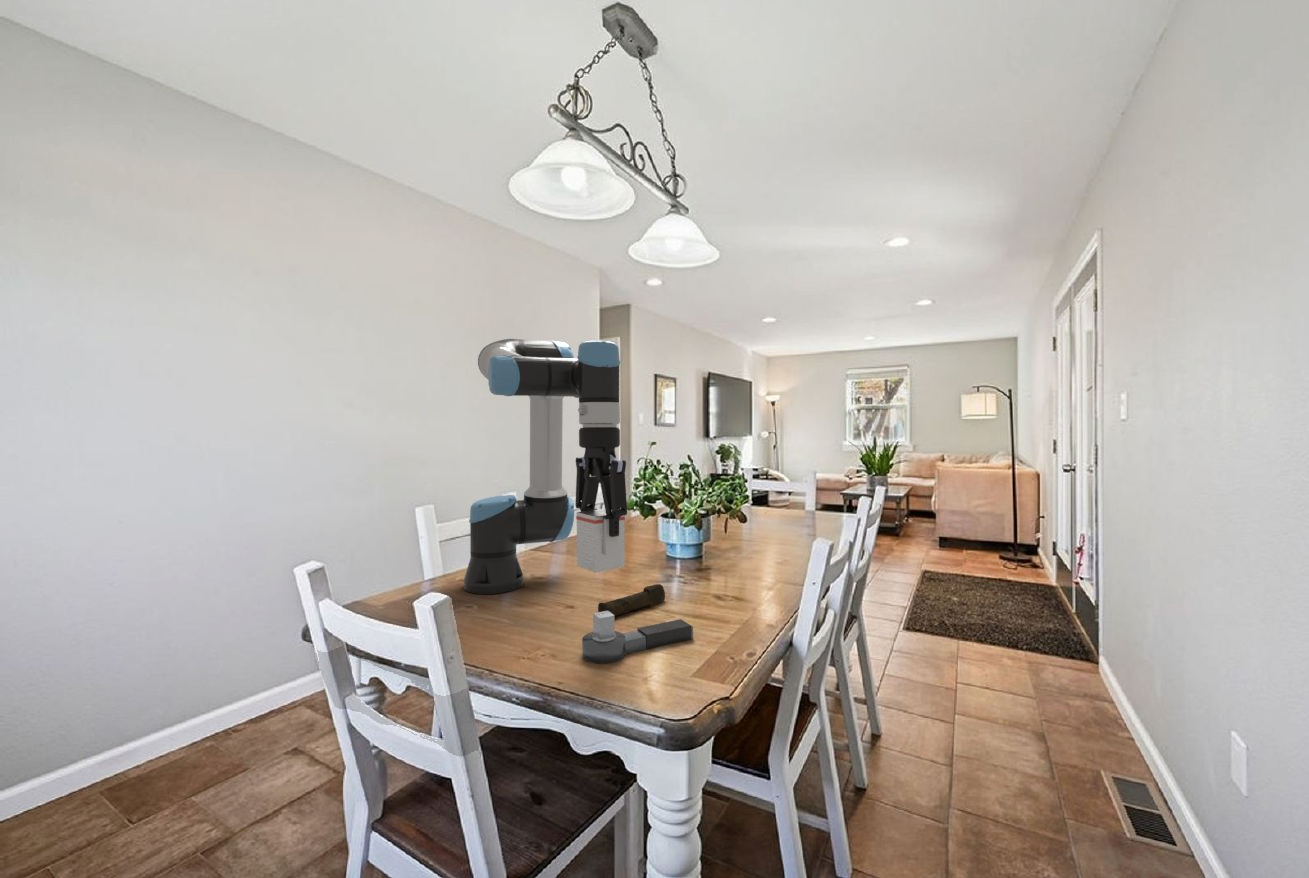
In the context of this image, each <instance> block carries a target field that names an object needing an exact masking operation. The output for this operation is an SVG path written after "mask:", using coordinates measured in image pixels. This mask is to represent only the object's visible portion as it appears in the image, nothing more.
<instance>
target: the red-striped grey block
mask: <svg viewBox="0 0 1309 878" xmlns="http://www.w3.org/2000/svg"><path fill="white" fill-rule="evenodd" d="M604 516H606V511H605V508H601V509H598V510H592V511H583V512H581V511H577V512H576V516H575V519H576V567H580V568H582V569H584V570H585V569H586V570H588V571H590V572H593V573H600V572H605V571H606V572H607V571H609V570H610V571H611V570H615V569H620V568H625V567H626V549H625V548H626V544H625V543H626V540H625V538H626V537H625V536H626V535H625V532H626V531H625V530H626V529H625V528H626V527H625V520H626V515H623V516H621V517H620V518H619V553H617V554H611V555H604V518H603V517H604Z"/></svg>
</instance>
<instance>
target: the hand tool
mask: <svg viewBox="0 0 1309 878" xmlns="http://www.w3.org/2000/svg"><path fill="white" fill-rule="evenodd" d="M665 600H666V592H665V588H664V585H662V584H658V583H657V584H653V585H648V586H646V587H643V590H641V591H639V592H637V593H634V594H630V595H627V596H624V597H619V598H616V599H613V600H609V601H606V602H599V603H598V606H597V612H603V611H609V612H611V613H612V614H613V615H615V617H616V616H620V615H622V614H625V613H628V612H631V611H635V610H638V609H641V608H643V607H647V608H652V607H655V606H658V605H660V604H661V603H662V602H664V601H665Z"/></svg>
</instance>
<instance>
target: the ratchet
mask: <svg viewBox="0 0 1309 878" xmlns="http://www.w3.org/2000/svg"><path fill="white" fill-rule="evenodd" d="M592 616H593V619H592V620H593V625H592V626H593V629H592V630H593V631H591V632H588V633H587V634H585V635H584V636H582V639H581V640H582V642H581V643H582V645H581V646H582V647H581V648H582V649H581V650H582V651H581V652H582V656H581V657H582V658H583V659H584V660H585V661H587V662H590V663H593V664H611V663H614V662H618V661H620V660H623V659H624V658H625V656H626V654H630V653H635V652H639V651H645V650H650V649H654V648H659V647H664V646H668V645H672V644H677V643H681V642H686V641H690V640H693V639H694V626H692V624H689V622H686V621H684V619H681V618H679V619H675V620H674V619H673V620H670V621H665V622H660V623H656V624H650V625H646V626H640V627H637V629H636V630H633V631H627V632H624V633H622V632H620V631H617V630H615V627H616V624H615V617H616V616H615V615H613V614H612V613H611V612H609V611H603V612H598V611H597V612H593V614H592Z"/></svg>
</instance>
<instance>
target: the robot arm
mask: <svg viewBox="0 0 1309 878" xmlns="http://www.w3.org/2000/svg"><path fill="white" fill-rule="evenodd" d="M620 365H621V360H620V350H619V345H618V344H616V343H615V342H612V341H609V340H608V341H607V340H588V341H587V340H586V341H583V342H581V343H579V345H578V350H577V358H575V357H574V353H573V349H572V348H571V346H570V345H569V344H568V343H566V342H564V341H556V340H552V339H551V340H546V339H545V340H544V339H543V340H542V339H541V340H540V339H539V340H538V339H518V338H504V339H501V340H500V339H499V340H497V341H493V342H490V343H489V344H487V345H486V346H484V347H483V348H482V349H481V350H480V353H479V355H478V357H477V366H478V370H479V372H480V373H481V374H482V375H483V377H484V378H486V379H487V380H488V388H489V392H490V393H491V394H493V395H495V396H505V397H513V396H516V397H519V396H527V397H529V487H528V488H527V489H526V490H525V491H523V492H524V493H523V499H521V500H518V499H517V497H516V496H515V495H512V494H506V495H496V496H490V497H486V498H482V499H481V498H480V499H479V500H477V501H475V502H473V503H472V504H471V506H470V508H469V510H470V511H469V519H468V520H469V521H468V522H469V523H470V525H469V527H470V529H469V530H470V532H469V534H470V535H469V536H470V539H469V540H470V547H469V548H470V551H469V552H470V557H469V558H470V559H469V562H468V565H467V569H466V572H465V574H464V578H463V590H464V591H466V592H468V593H470V594H478V595H494V594H502V593H503V594H504V593H508V592H511V591H514V590H517V589H520V588H521V587H523V585H524V573H523V570H522V567H521V564H520V561H519V559H518V556H517V545H523V544H524V545H525V544H527V545H528V544H536V543H548V542H549V543H553V542H558V541H563V540H566V539H567V538H569V536H570V534H571V533H572V530H573V525H574V522H575V520H574V519H575V509H574V507H575V508H576V509H579V510H580V511H579V512H583V511H592V510H599V509H598V508H596V503H597V497H598V492H599V486H600V488H601V489H600V491H601V494H602V499H603V504H604V509H605V511H606V516H604V517H603V518H604V555H611V554H617V553H619V518H620V517H621V516H623V515H624V516H626V515H628V506H627V502H628V501H627V488H626V487H627V485H626V467H627V461H626V460H625V459H618V457H617V454H616V450H615V449H616V448H618V447H620V445H621V436H620V434H621V430H620V427H618V425H620V424H621V415H620V414H621V406H620V404H621V402H620ZM564 397H570V398H571V397H572V398H576V399H578V403H579V404H578V409H577V411H578V414H579V415H578V423H579V424H580V425H582V427H580V428H579V429H578V446H579V447H580V448H583V449H585V450H584V455H583V456H581V457H579V456H577V457H576V458H575V468H576V478H575V479H576V480H575V484H576V485H575V502H574V500H573V499H572V498H571V497H569V496H568V491H567V490H566V489H565V488H564V486H563V418H564V417H563V415H564V414H563V410H564V409H563V407H564V406H563V405H564V403H563V402H564V401H563V399H564ZM574 504H575V505H574Z"/></svg>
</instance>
